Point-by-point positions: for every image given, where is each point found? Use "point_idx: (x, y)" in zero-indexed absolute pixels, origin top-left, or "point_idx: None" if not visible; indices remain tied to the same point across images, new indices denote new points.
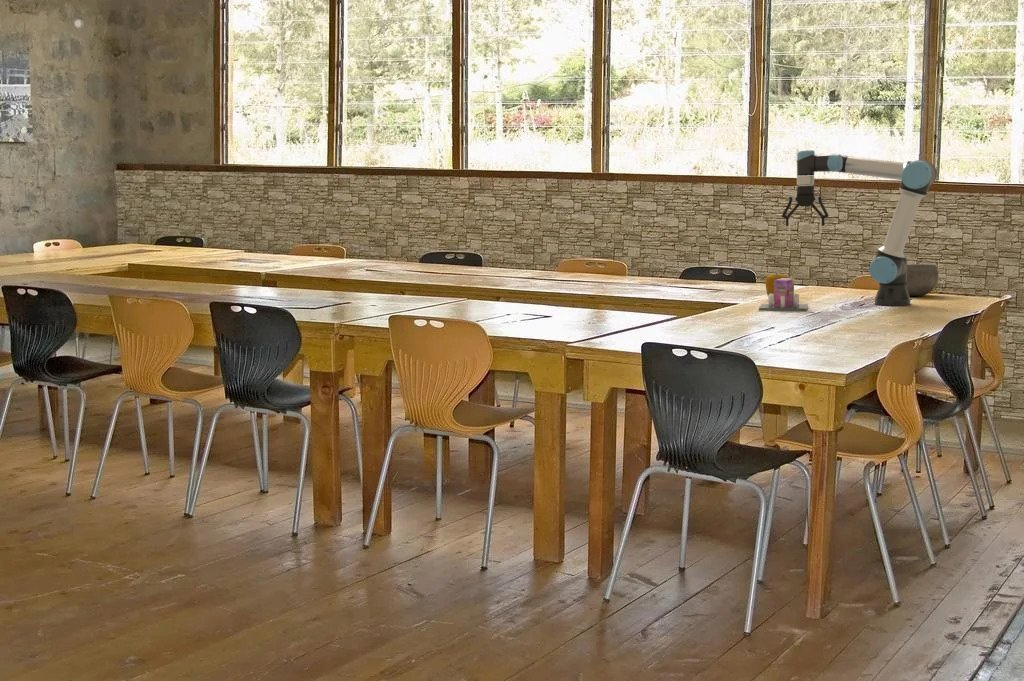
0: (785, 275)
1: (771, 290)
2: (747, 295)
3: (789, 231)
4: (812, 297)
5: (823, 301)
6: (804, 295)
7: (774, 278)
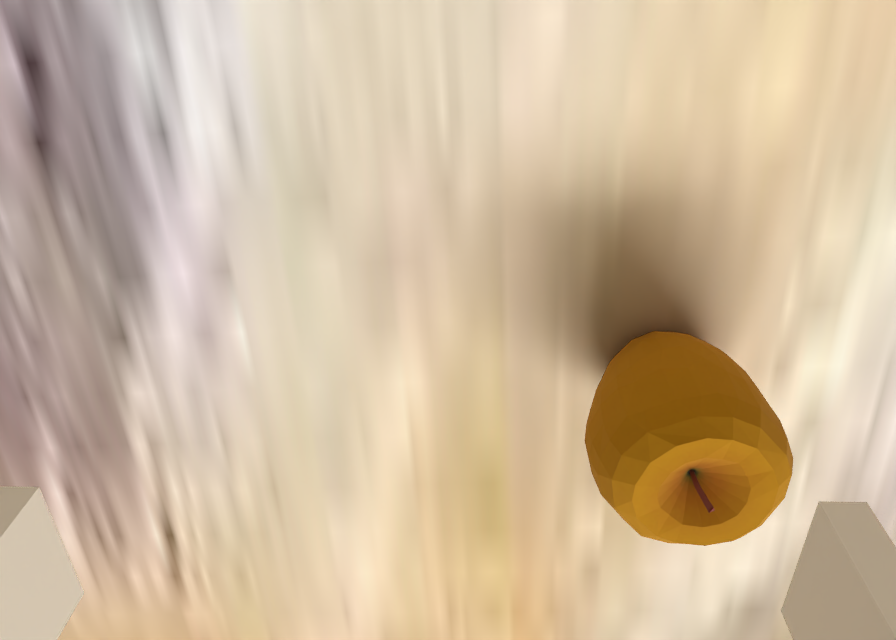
0: (633, 472)
1: (723, 355)
2: None
3: (865, 554)
4: (436, 532)
5: (348, 330)
6: (485, 614)
7: (730, 409)
